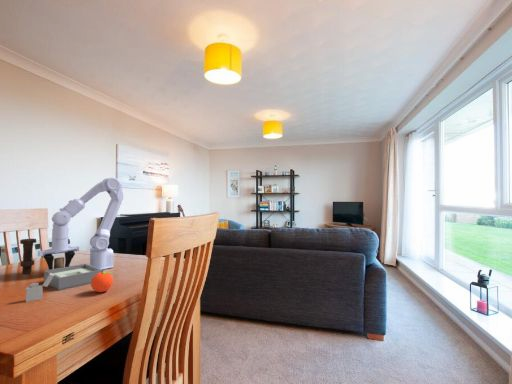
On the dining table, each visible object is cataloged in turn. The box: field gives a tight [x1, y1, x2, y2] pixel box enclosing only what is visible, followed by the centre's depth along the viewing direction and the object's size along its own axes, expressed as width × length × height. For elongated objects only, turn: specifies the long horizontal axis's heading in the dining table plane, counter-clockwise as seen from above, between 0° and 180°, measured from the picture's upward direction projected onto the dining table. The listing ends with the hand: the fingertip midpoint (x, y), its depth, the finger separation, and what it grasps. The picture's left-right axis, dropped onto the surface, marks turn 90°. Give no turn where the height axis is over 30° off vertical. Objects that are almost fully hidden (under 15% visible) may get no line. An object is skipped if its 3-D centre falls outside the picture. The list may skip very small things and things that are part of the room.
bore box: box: [43, 263, 104, 292], centre depth 105 cm, size 15×16×4 cm
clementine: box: [90, 271, 116, 293], centre depth 95 cm, size 8×7×7 cm
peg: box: [53, 256, 65, 269], centre depth 114 cm, size 4×4×7 cm
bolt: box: [19, 238, 37, 275], centre depth 115 cm, size 6×5×15 cm
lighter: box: [25, 273, 54, 303], centre depth 87 cm, size 7×2×8 cm, turn 130°
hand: (58, 269), depth 114 cm, fingers open, 5 cm apart
